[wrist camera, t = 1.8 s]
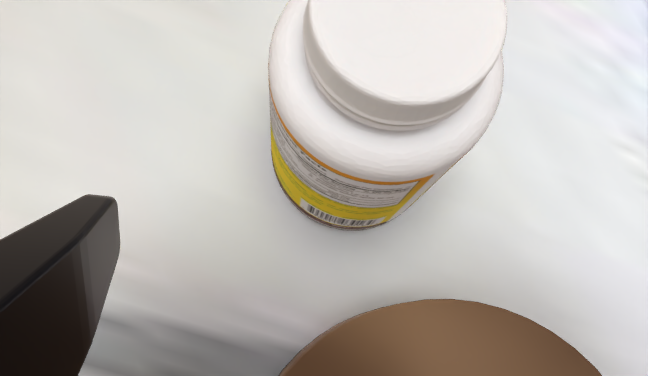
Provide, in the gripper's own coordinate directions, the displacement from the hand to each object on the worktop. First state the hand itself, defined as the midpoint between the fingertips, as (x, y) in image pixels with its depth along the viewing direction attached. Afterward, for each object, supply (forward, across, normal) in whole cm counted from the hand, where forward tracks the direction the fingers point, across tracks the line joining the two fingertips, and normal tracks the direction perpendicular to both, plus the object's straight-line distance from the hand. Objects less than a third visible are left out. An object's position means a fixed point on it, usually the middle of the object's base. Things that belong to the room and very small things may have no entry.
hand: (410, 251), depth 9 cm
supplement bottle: (+12, 0, +5) cm, 13 cm away
